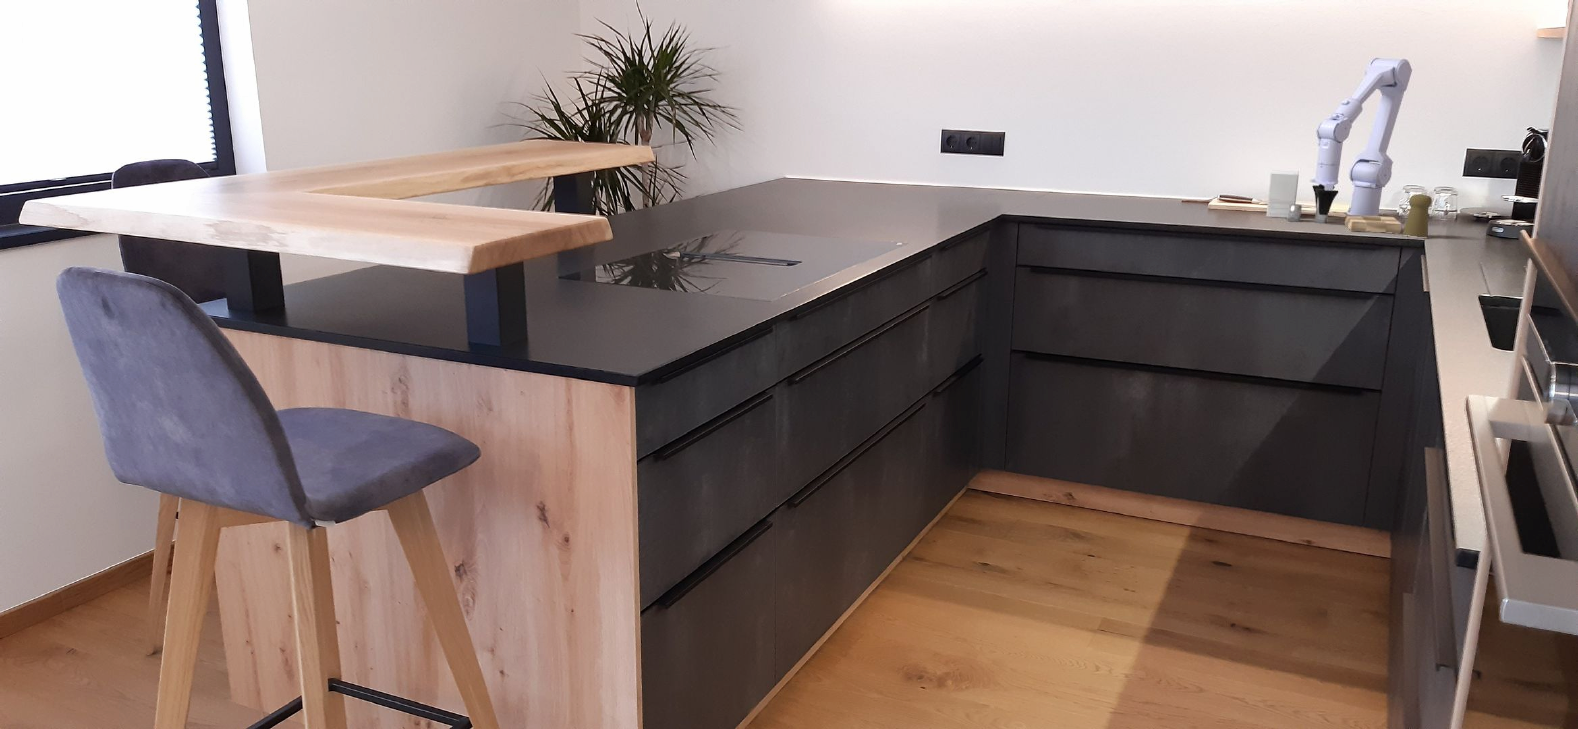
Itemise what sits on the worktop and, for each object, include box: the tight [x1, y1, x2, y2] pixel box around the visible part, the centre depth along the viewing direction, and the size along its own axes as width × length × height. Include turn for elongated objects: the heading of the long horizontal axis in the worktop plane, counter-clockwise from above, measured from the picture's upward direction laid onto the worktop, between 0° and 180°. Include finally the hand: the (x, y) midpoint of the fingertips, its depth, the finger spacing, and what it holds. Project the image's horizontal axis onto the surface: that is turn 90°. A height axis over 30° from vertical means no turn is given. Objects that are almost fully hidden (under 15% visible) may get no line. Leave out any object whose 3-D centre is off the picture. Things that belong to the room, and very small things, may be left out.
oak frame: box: [1344, 214, 1402, 234], centre depth 318 cm, size 12×12×3 cm
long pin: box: [1313, 199, 1329, 224], centre depth 327 cm, size 3×3×8 cm
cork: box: [1402, 193, 1433, 238], centre depth 306 cm, size 6×6×11 cm
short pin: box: [1287, 203, 1303, 223], centre depth 330 cm, size 3×3×4 cm
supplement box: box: [1266, 169, 1300, 219], centre depth 337 cm, size 7×7×13 cm
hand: (1321, 212), depth 328 cm, fingers open, 6 cm apart
